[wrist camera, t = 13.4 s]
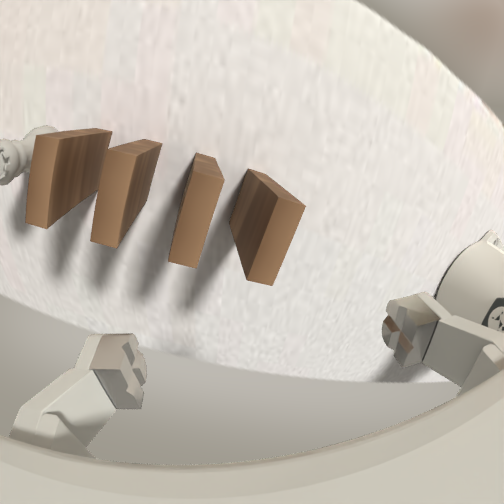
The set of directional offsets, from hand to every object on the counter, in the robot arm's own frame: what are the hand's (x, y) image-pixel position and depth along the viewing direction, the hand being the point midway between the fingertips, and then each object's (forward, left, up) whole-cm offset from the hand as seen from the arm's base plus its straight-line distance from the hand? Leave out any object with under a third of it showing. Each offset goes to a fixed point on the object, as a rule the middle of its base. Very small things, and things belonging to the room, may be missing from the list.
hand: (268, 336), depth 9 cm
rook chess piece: (+17, 0, -18) cm, 24 cm away
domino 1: (+11, 0, -18) cm, 21 cm away
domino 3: (+2, 0, -18) cm, 18 cm away
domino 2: (+7, 0, -18) cm, 19 cm away
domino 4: (-2, 0, -18) cm, 18 cm away
